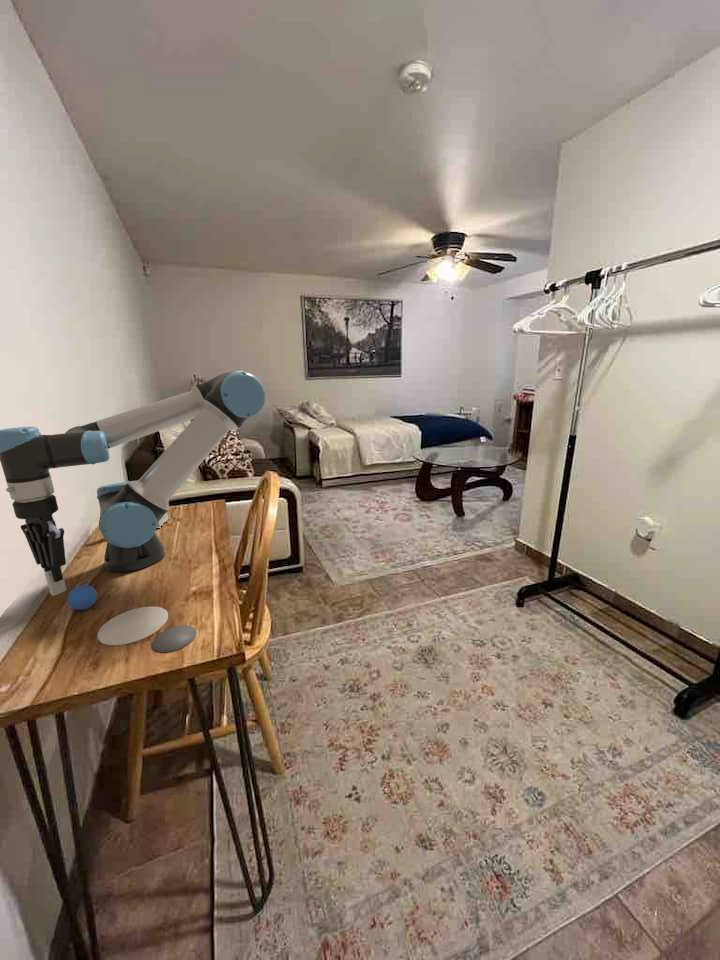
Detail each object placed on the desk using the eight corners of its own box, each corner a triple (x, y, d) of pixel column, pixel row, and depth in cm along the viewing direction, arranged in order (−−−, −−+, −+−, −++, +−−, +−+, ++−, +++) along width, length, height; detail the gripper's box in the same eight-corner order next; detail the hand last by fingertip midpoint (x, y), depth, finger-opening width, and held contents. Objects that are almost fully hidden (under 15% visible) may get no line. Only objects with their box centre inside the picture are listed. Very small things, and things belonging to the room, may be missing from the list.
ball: (80, 601, 92) (75, 580, 91) (104, 600, 92) (99, 579, 91) (64, 615, 87) (58, 593, 85) (89, 614, 87) (84, 592, 85)
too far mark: (163, 627, 81) (163, 626, 81) (202, 625, 81) (202, 624, 81) (144, 653, 73) (143, 652, 73) (187, 651, 74) (186, 650, 74)
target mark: (120, 608, 88) (120, 608, 88) (178, 605, 89) (178, 604, 89) (82, 647, 76) (82, 646, 76) (150, 643, 76) (150, 642, 76)
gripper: (-3, 499, 86) (25, 594, 92) (30, 505, 81) (57, 606, 87) (36, 490, 93) (60, 579, 99) (69, 495, 87) (91, 589, 93)
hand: (58, 592), depth 93 cm, fingers closed
